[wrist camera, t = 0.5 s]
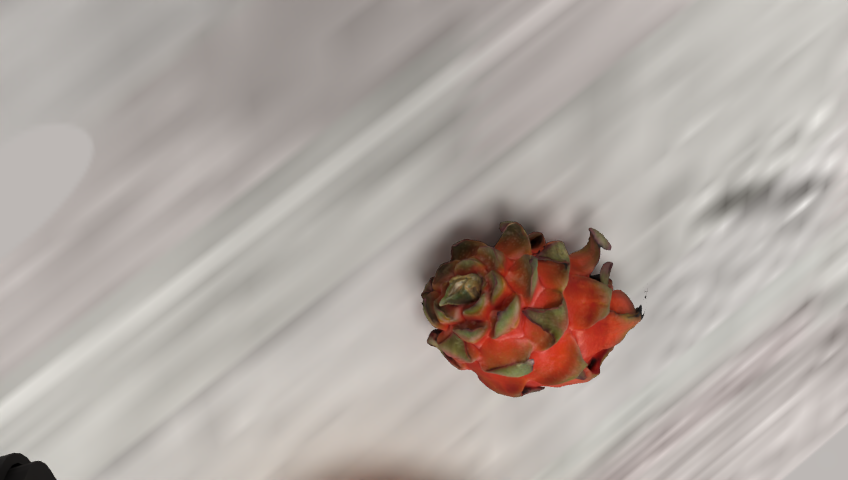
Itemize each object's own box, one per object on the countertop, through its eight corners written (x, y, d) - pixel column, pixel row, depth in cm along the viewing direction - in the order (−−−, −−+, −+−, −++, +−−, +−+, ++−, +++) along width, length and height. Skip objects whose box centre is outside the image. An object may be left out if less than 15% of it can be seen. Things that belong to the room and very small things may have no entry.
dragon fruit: (392, 234, 43) (583, 249, 47) (390, 395, 41) (587, 395, 46) (456, 201, 35) (678, 223, 39) (457, 398, 33) (687, 398, 38)
